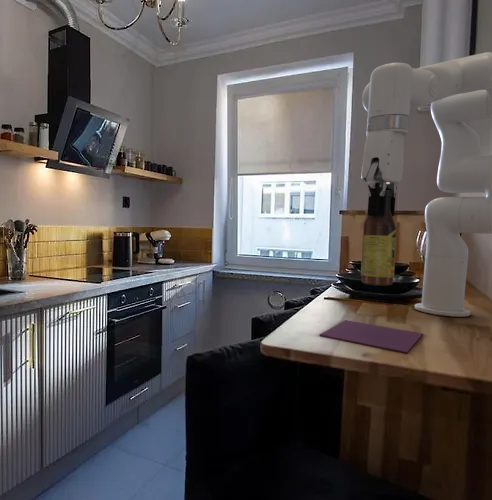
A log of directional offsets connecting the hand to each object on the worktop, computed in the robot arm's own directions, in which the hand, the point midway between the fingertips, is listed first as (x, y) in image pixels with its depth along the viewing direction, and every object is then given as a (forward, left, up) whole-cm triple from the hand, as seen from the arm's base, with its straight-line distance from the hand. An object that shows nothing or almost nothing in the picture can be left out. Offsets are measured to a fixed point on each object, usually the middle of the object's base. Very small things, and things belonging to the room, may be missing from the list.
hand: (380, 215), depth 89 cm
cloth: (0, 0, -26) cm, 26 cm away
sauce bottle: (0, 0, -15) cm, 15 cm away
